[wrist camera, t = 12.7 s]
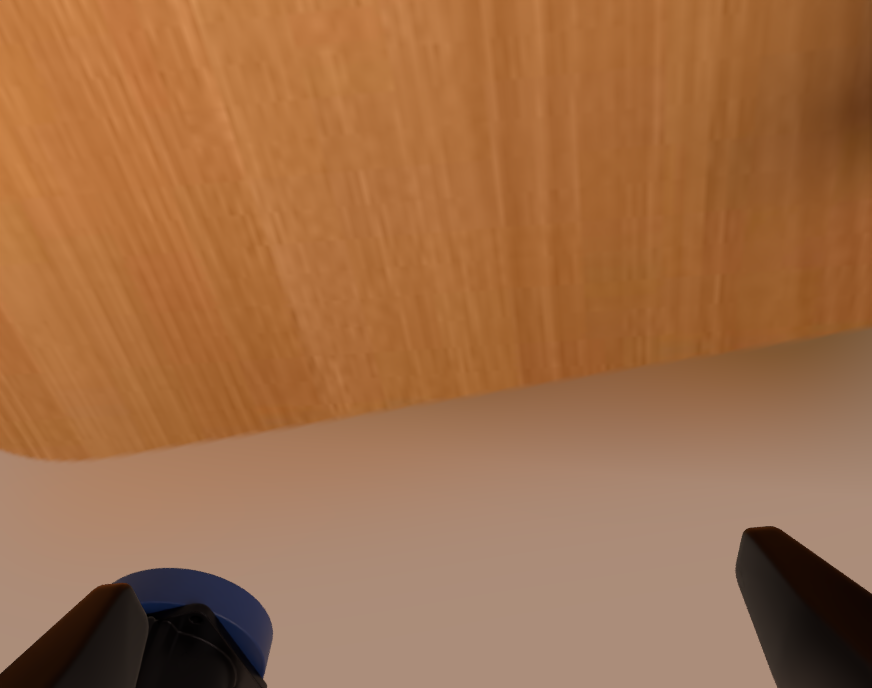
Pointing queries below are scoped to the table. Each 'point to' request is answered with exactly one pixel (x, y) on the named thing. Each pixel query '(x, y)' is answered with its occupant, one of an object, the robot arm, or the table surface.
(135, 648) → the robot arm
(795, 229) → the table surface
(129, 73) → the table surface
